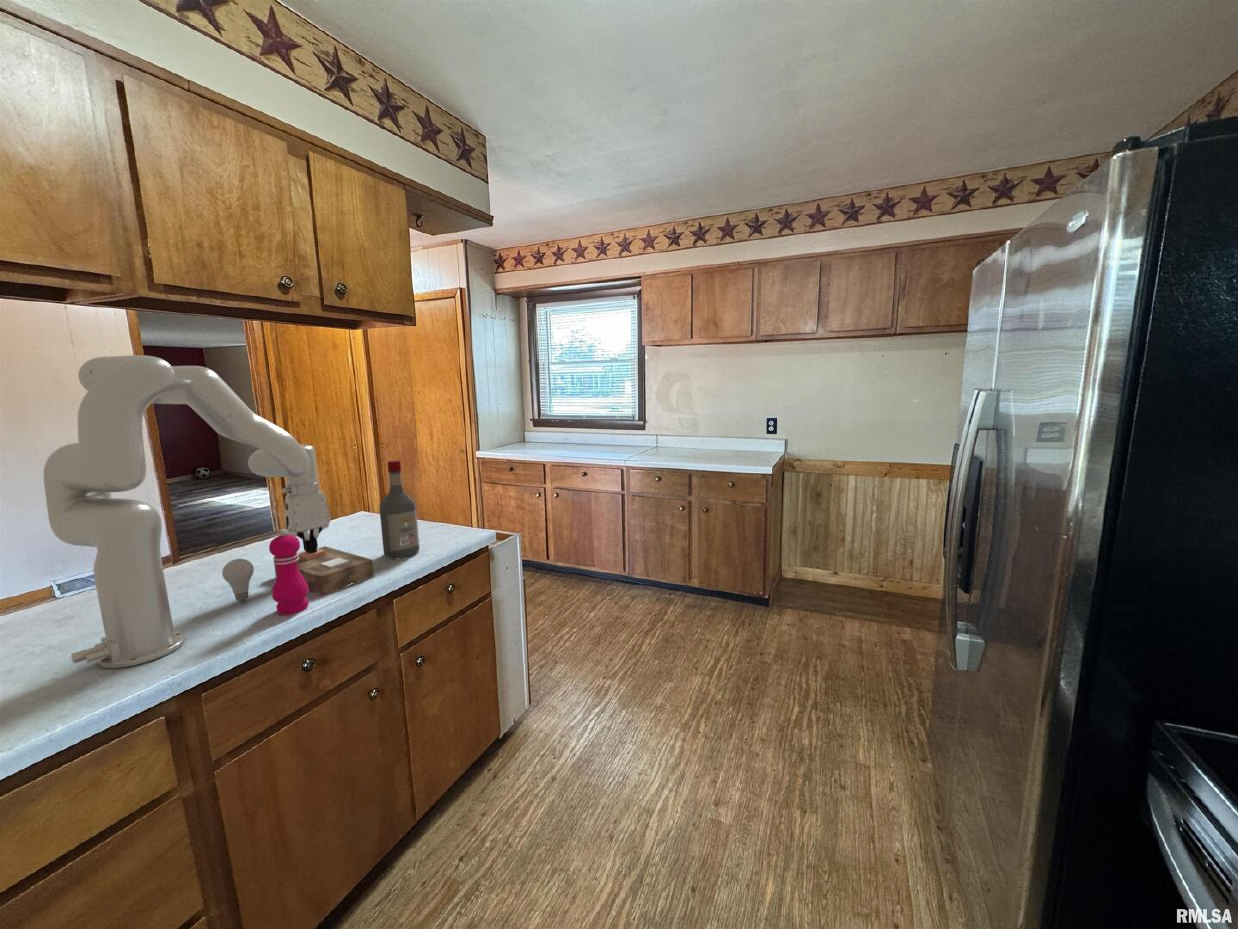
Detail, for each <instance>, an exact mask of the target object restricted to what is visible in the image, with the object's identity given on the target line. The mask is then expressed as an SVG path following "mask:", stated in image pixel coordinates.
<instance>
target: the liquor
mask: <svg viewBox="0 0 1238 929" xmlns="http://www.w3.org/2000/svg"><path fill="white" fill-rule="evenodd" d="M401 464H402V463H401V460H388V461H387V471H388V476H389V490H388V491H389V492H388V493H387V494H386V496H385V497H384V498H383V499H382V501H381V502H380V504H379V507H378V508H379V517H380V526H381V527H380V528H381V536H382V549H383V553H384V555H385V556H386V557H387V558H389V559H392V558H401V559H405V558H407V557H408V558H409V557H412V556H415V555H414V554H416V553H417V552H418V553H419V550H420V549H421V548H420V537H419V525H418V516H417V515H418V514H417V512H418V511H417V503H416V501H415V500H414V499H413V498H412V497H411V496H410V495H409V494H408V493H406V492H405V491H404V487H403V481H402V465H401ZM418 553H417V554H418ZM417 554H416V555H417ZM411 555H412V556H411Z"/></svg>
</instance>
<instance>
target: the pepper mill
mask: <svg viewBox="0 0 1238 929" xmlns="http://www.w3.org/2000/svg"><path fill="white" fill-rule="evenodd" d="M287 534H288V530H287V529H286V528H281V529H279V531H278V535H277V536H276V537H274V538H273V539H272V540H271V541H270V543H269V546H268V550H269V553H270V554H271V555H273V556H274V557H273V558H272V559H273V564H276V566H277V578H276V577H275V580H274V581H275V582H274V583H273V584H274V585H273V586H272V590H271V591H272V592H271V593H272V594H271V597H272V600H273V601H274V602H276V603H277V604H276V606H275V607H276V612H277V614H278V615H281V616H286V615H287V616H288V615H293V614H298V613H300V612H302V611H305V610H306V609H307V608H308V607H309V602H308V598H307V595H308V593H309V591H310V590H309V588H308V584H307V582H306V580H305V579H304V578H303V576H302V575H301V573H300V571H299V568H298V560H299V556H298V555H299V554H298V553H299V552H298V551H299V550H300V548H301V542H300V540H299V537H298V536H296V537H295V536H293V535H287ZM304 609H305V610H304Z"/></svg>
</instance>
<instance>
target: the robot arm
mask: <svg viewBox="0 0 1238 929" xmlns="http://www.w3.org/2000/svg"><path fill="white" fill-rule="evenodd" d="M77 374H78V380H79V382H80V384H81V386H82V388H84V390H86V391H87V392H86V393H85V395H84V397H83V398H82V400H81V402H80V404H79V407H78V412H77V437H78V438H77V439H78V440H77V441H78V442H74V443H69V444H66V445H63V446H60V447H59V448H57V449H55V450H53V452H52V453H50V455H49V456H48V458H47V459H46V462H45V464H44V468H43V485H44V493H45V501H46V509H47V515H48V516H47V517H48V522H49V525H50V528H51V530H52V533H53V534H54V535H55V537H56V538H57V539H59V540H60V542H64V543H66V544H69V545H72V546H79V547H88V548H90V547H91V548H96V549H97V550H96V557H95V559H94V563H93V580H94V583H95V584H94V585H95V590H96V593H97V599H98V604H99V610H100V612H101V613H100V614H101V620H102V625H103V629H104V634H105V636H104V637H100V642H99V643H96V644H94V647H91V648H90V647H89V648H88V649H87V648H86V649H83V650H79V651H76V652H72V653H71V655H70V657H71V661H72V662H73V664H77V663H80V662H83V661H85V662H86V664H88V663H90V662H94V661H97V662H98V665H99V666H100V667H101V668H105V669H120V668H126V667H127V668H128V667H133V666H137V665H141V664H144V663H147V662H150V661H154V660H156V659H159V658H162V657H165V656H167V655H168V654H170V653H172V652H174V651H175V650H178V649H179V648H180V647H181V646H183V644H184V643H185V642H186V634H185V633H184V632H182V631H177V630H174V624H173V618H172V613H171V606H170V601H169V595H168V590H167V584H166V578H165V572H164V567H163V562H162V552H161V551H162V550H161V540H162V539H161V538H162V531H163V530H162V529H163V528H162V527H163V525H162V524H163V523H162V519H161V515H160V513H159V511H157V509H156V508H155V507H154V506H152V505H151V504H148V503H147V502H145V501H141V500H137V499H131V498H115V497H114V498H113V497H112V495H111V494H112V493H123V492H127V491H129V492H130V491H132V490H135V489H137V488H138V487H140V486H141V485H142V484H143V482H144V481H145V479H146V476H147V475H146V474H147V463H146V454H145V445H144V434H143V418H144V415H145V413H146V411H147V409H148V408H149V406H150V405H151V404H160V405H161V404H162V405H163V404H164V405H187V406H189V407H190V408H191V409H192V411H194V412H195V413H196V414H197V415H198V416H200V418H202V419H203V421H205V422H206V423H207V425H208V426H210V427H211V428H212V429H213V430H214V431H215V432H216V434H219V435H220V436H222V437H224V438H227V439H230V440H232V441H235V442H237V443H242V444H246V445H249V446H252V447H254V448H256V449H258V450H256V451H254V452H253V453H251V455H249V458H248V460H247V465H248V468H249V470H250V471H251V472H252V473H254V474H255V475H257V476H259V477H260V476H261V477H267V478H269V477H270V478H285V482H286V485H285V486H286V487H284V488H282V489H281V493H282V494H287V495H286V496H285V499H284V501H285V502H284V523H285V524H284V525H285V529H286V530H287V531H288V534H287V535H293V536H295V537H297V538H298V539H299V538H300V540H302V544H303V546H302V547H303V550H304V551H306V552H308V553H313V552H317V548H319V547H318V545H319V544H318V538H319V535H320V533H321V532H322V531H324V530H325V529H328V528H329V527H330V523H331V516H330V511H329V506H328V502H327V498H326V496H325V494H324V491H322V490H321V489H320V482H319V474H318V466H317V456H316V450H315V448H314V446H312V445H309V444H300V443H299V441H297V439H295V437H293V436H292V434H290V433H288V431H286V430H284V429H283V428H282V427H279V426H278V425H276V424H275V423H272V422H271V421H269V420H267V419H266V418H263V417H262V416H260V415H258V414H256V413H255V412H254V411H253V410H251V408H249V407H248V406H247V404H246V403H245V402H244V401H243V400H242V399H241V398H240V397H239V396H238V394H236V393H235V392H234V390H233V389H232V388H231V387H230V386H229V385H228V384H227V383H226V382H225V381H224V380H223V379H222V378H221V376H219V374H218V373H216V372H215V371H214V370H212V369H210V368H208V367H205V366H200V365H173V366H172V365H171V364H170V363H169V362H168V361H166V360H165V359H163V358H160V357H156V356H151V355H144V354H143V355H142V354H140V355H139V354H138V355H137V354H133V355H132V354H131V355H128V354H127V355H117V356H116V355H114V356H113V355H112V356H98V357H93V358H91V359H89V360H87V361H85V362H84V363H83V364H82V365H81V366H80V368H79V370H78V373H77ZM320 490H321V491H320Z"/></svg>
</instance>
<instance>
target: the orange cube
mask: <svg viewBox="0 0 1238 929" xmlns="http://www.w3.org/2000/svg"><path fill="white" fill-rule="evenodd" d="M297 553H298V554H299V555H298V556H299V560H303V561H310V560H313V559H316V558H320V557H323V556H325V551H324V550H320V549H317V552H313V553H308V552H306V551H305V550H304V551H299V552H297Z"/></svg>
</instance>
